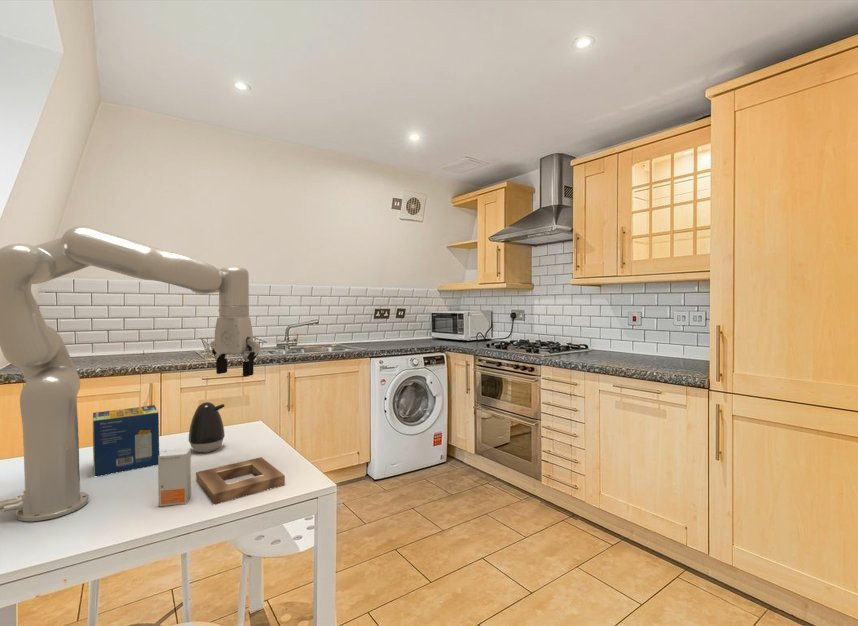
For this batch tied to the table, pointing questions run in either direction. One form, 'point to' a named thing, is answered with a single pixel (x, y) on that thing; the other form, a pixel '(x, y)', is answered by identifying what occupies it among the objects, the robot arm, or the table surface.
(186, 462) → the skincare box
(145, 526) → the table surface
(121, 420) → the protein box
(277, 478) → the wooden square frame
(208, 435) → the pump dispenser
